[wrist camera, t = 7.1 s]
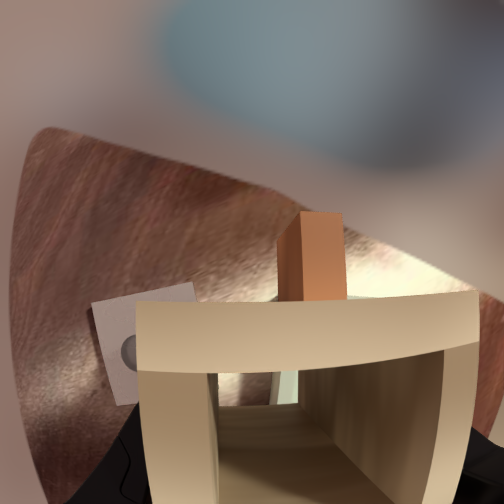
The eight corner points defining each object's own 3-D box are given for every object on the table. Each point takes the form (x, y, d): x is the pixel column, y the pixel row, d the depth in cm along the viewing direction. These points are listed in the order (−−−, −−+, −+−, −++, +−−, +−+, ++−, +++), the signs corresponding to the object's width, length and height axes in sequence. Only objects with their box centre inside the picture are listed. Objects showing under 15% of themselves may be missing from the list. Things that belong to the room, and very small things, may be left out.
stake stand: (218, 386, 22) (218, 403, 17) (120, 402, 21) (100, 419, 16) (193, 282, 23) (187, 276, 18) (96, 303, 22) (70, 301, 17)
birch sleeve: (315, 417, 14) (441, 534, 4) (199, 423, 14) (173, 584, 3) (315, 275, 16) (468, 209, 5) (196, 275, 15) (142, 192, 4)
